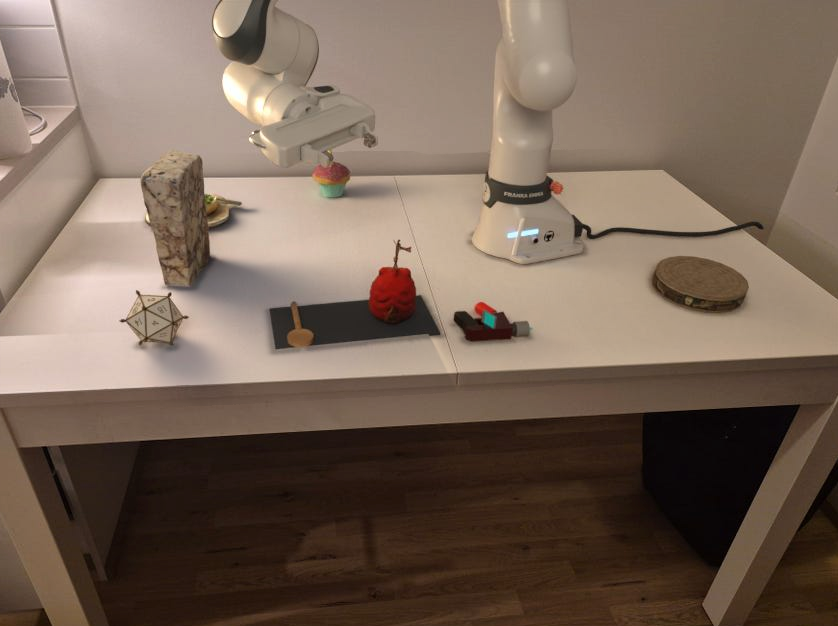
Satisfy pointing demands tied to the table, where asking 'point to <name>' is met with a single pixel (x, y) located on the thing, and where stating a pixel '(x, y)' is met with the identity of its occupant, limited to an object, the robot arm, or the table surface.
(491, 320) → the toy gun
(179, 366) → the table surface
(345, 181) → the cupcake
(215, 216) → the salad plate
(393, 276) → the red clay folk toy
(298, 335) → the spoon
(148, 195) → the stone block
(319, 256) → the table surface
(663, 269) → the wood slice
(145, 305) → the game die
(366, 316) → the placemat
